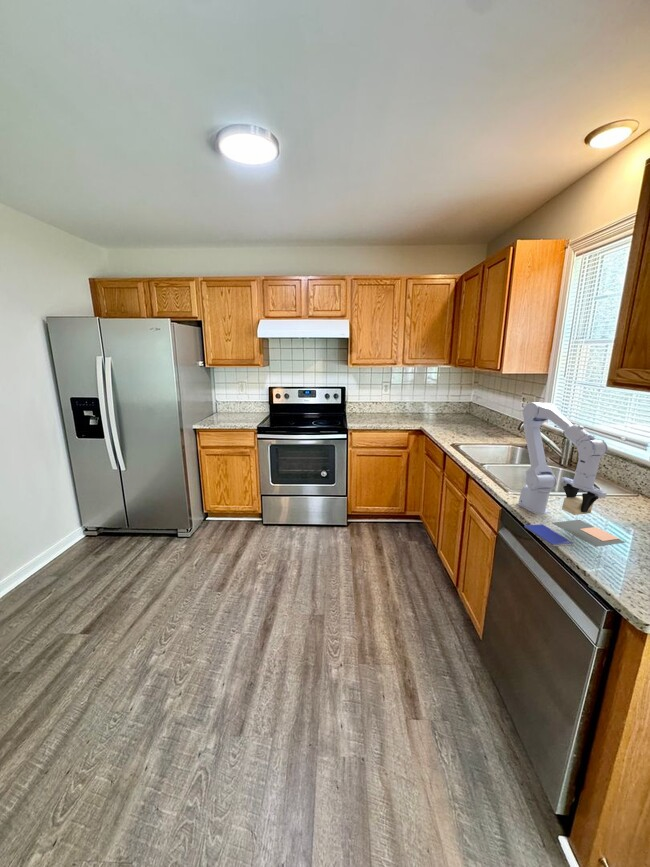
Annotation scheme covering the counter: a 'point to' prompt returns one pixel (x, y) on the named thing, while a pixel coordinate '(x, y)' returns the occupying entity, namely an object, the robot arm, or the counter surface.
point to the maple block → (574, 505)
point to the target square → (599, 534)
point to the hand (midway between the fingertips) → (576, 508)
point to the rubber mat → (575, 528)
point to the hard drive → (548, 535)
